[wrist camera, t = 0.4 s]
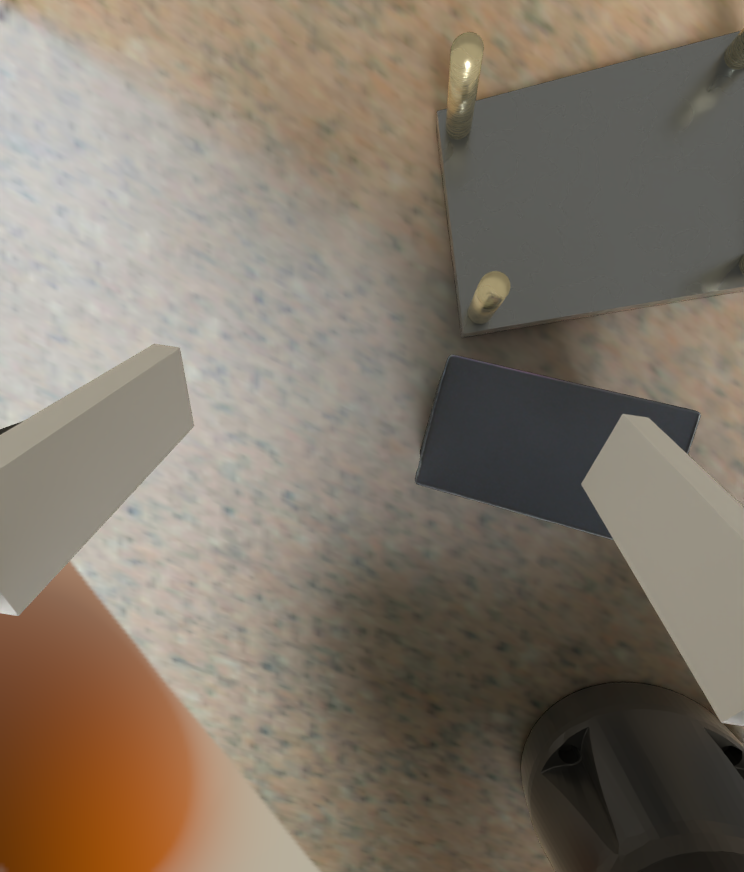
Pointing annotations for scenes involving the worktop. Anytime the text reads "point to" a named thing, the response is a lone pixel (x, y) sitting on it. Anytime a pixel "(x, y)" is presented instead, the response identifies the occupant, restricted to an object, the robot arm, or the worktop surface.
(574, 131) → the chassis
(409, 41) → the worktop surface
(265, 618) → the worktop surface
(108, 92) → the worktop surface
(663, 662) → the worktop surface
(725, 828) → the robot arm
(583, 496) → the small box
